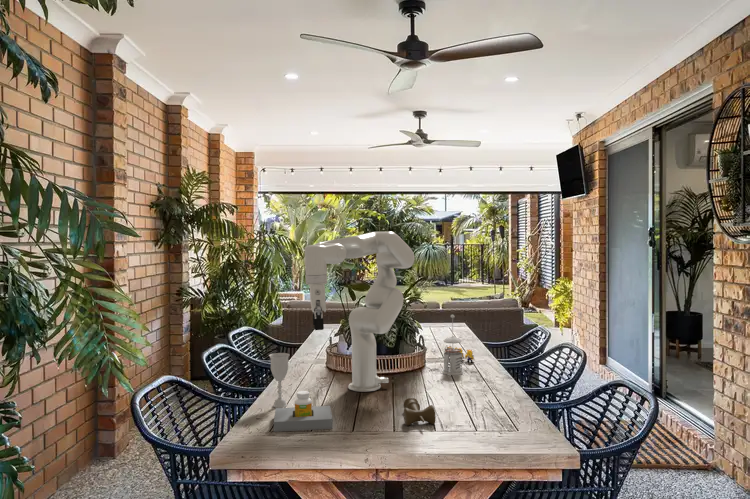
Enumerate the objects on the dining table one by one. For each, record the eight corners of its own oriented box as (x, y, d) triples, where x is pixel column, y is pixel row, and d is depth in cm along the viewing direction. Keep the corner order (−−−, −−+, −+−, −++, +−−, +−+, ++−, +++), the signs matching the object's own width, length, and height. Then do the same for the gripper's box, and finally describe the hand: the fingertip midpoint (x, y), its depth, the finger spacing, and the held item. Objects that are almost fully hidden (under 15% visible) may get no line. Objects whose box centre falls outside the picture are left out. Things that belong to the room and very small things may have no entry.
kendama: (424, 412, 198) (439, 430, 178) (397, 414, 196) (408, 432, 176) (424, 394, 198) (438, 410, 178) (396, 396, 196) (408, 413, 176)
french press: (468, 371, 252) (467, 313, 251) (456, 377, 242) (456, 317, 241) (447, 368, 257) (447, 312, 256) (435, 374, 247) (435, 315, 246)
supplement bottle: (298, 426, 183) (297, 395, 182) (292, 421, 187) (292, 391, 187) (314, 423, 185) (313, 393, 185) (308, 418, 190) (308, 389, 190)
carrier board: (330, 414, 194) (330, 405, 194) (332, 428, 180) (332, 418, 180) (275, 417, 192) (275, 408, 191) (273, 431, 178) (273, 422, 178)
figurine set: (472, 364, 265) (472, 350, 265) (442, 359, 276) (442, 345, 276) (476, 363, 268) (476, 348, 268) (447, 358, 279) (446, 344, 279)
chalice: (293, 403, 207) (293, 353, 206) (284, 409, 200) (284, 357, 200) (275, 401, 209) (274, 352, 208) (266, 407, 203) (265, 356, 202)
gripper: (328, 281, 198) (330, 331, 199) (325, 276, 215) (327, 322, 216) (306, 282, 197) (308, 332, 198) (305, 277, 214) (306, 323, 215)
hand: (318, 327), depth 207 cm, fingers open, 9 cm apart
